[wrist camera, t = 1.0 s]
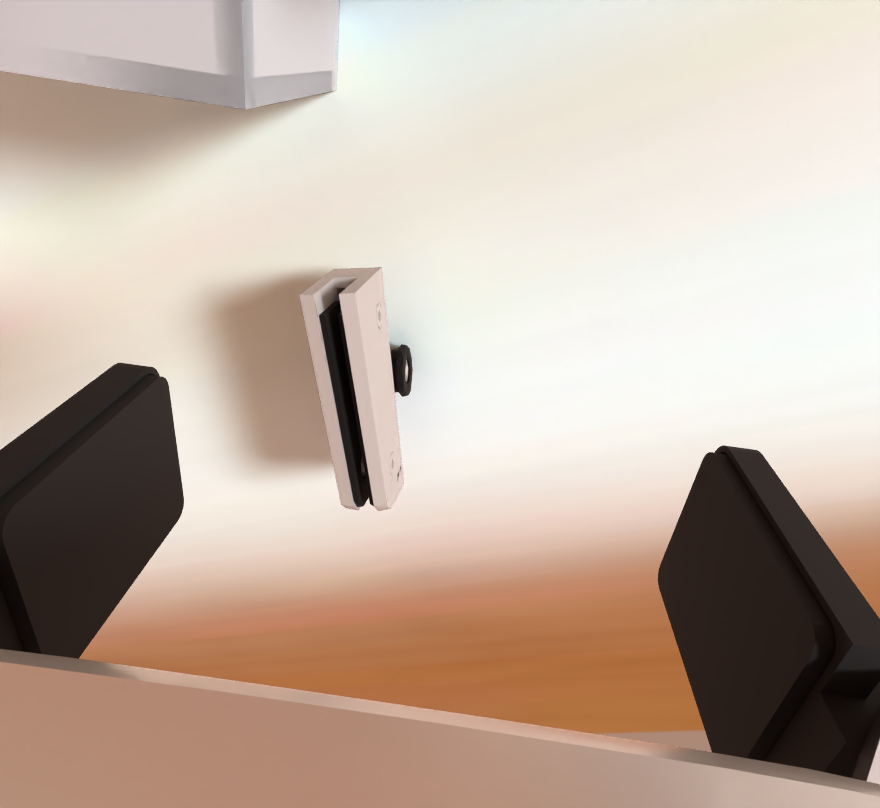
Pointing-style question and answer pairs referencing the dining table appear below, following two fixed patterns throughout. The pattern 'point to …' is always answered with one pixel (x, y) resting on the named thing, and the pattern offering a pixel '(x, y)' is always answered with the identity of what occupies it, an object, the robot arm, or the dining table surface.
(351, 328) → the grey plank with wheel
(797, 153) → the dining table surface
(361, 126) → the dining table surface
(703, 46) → the dining table surface
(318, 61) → the cabinet
